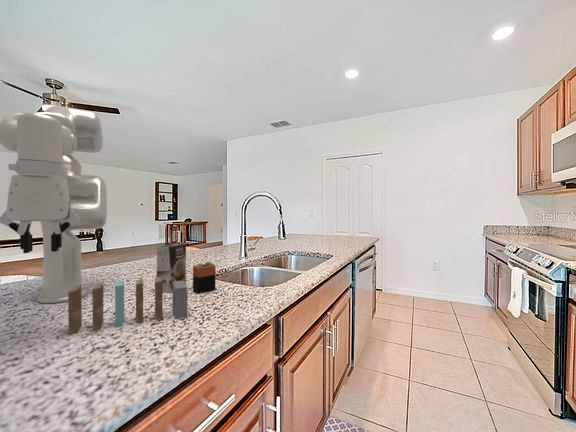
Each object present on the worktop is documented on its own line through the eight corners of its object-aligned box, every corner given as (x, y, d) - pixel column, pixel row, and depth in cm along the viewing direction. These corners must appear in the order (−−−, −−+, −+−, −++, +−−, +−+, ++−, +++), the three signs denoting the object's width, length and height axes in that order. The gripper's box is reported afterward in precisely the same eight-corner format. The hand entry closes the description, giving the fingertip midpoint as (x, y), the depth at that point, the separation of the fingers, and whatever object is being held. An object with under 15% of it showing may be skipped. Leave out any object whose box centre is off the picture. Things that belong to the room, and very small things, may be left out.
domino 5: (155, 320, 71) (155, 282, 71) (155, 313, 75) (154, 277, 75) (162, 319, 72) (162, 281, 71) (161, 312, 76) (161, 277, 76)
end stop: (175, 318, 72) (175, 288, 72) (172, 309, 79) (172, 281, 79) (187, 316, 73) (187, 287, 73) (183, 307, 80) (183, 280, 80)
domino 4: (136, 323, 69) (135, 284, 69) (136, 316, 73) (136, 279, 73) (143, 322, 69) (143, 283, 69) (143, 315, 74) (143, 279, 74)
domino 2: (92, 330, 64) (92, 288, 64) (95, 322, 69) (95, 283, 69) (100, 329, 65) (100, 287, 65) (103, 321, 70) (103, 283, 69)
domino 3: (115, 326, 67) (115, 286, 66) (116, 319, 71) (116, 281, 71) (122, 325, 67) (122, 285, 67) (124, 318, 72) (123, 280, 72)
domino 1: (68, 334, 62) (68, 291, 62) (73, 326, 67) (73, 286, 67) (77, 333, 63) (77, 290, 63) (81, 325, 67) (81, 285, 67)
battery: (216, 290, 98) (216, 262, 98) (198, 294, 93) (198, 265, 93) (209, 287, 101) (209, 260, 101) (192, 291, 96) (192, 263, 96)
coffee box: (172, 292, 95) (172, 246, 94) (155, 291, 96) (155, 245, 96) (186, 285, 104) (186, 243, 103) (171, 284, 105) (171, 243, 105)
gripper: (-21, 165, 54) (-19, 257, 54) (83, 171, 62) (84, 251, 62) (-3, 170, 61) (-2, 251, 61) (89, 175, 69) (89, 247, 69)
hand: (41, 250), depth 62 cm, fingers open, 4 cm apart
